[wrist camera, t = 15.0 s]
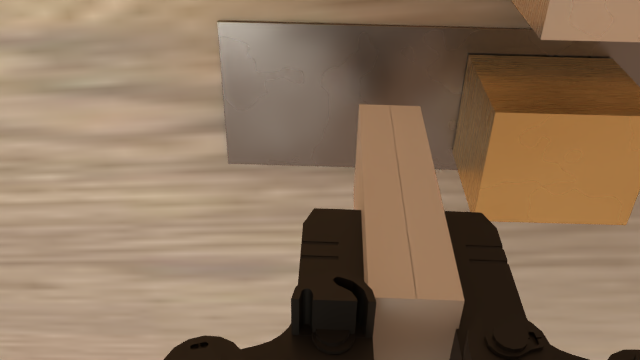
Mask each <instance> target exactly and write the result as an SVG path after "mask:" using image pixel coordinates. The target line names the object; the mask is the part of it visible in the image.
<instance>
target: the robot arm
mask: <svg viewBox="0 0 640 360" xmlns="http://www.w3.org/2000/svg"><path fill="white" fill-rule="evenodd" d="M164 360H588V359H585V358H582V357H578V356H575V355H572V354H569V353H566V352H564V351H561V350H559V349H557V348H555V347H554V346H552V345H550V344H549V342H548V340H547V339H546V337H545V336H544V334H543V332H542V331H541V330H539V329H538V328H537V327H536V326H535V325H534V324H532V323H531V322H530V321H528V320H527V318H526V315H525V312H524V309H523V306H522V303H521V300H520V297H519V294H518V291H517V288H516V285H515V282H514V279H513V276H512V273H511V270H510V267H509V264H507V258H506V255H505V252H504V250H503V249H502V243H501V240H500V237H499V234H498V231H497V228H496V227H495V226H494V225H493V224H492V223H491V222H490V221H489V220H488V219H487V218H486V217H485V216H484V215H483V214H482V213H481V212H451V211H444V208H443V204H442V199H441V195H440V191H439V186H438V182H437V177H436V173H435V169H434V164H433V160H432V156H431V151H430V147H429V142H428V138H427V134H426V129H425V125H424V120H423V116H422V112H421V107H420V106H399V105H367V104H359V116H358V132H357V148H356V164H355V180H354V210H345V209H315V208H314V210H313V211H312V212H311V214H310V215H309V216H308V218H307V219H306V220H305V222H304V223H303V232H302V244H301V257H300V268H299V279H298V286H296V287H295V290H294V293H293V296H292V298H291V324H290V326H289V328H288V329H287V330H286V331H284V332H283V333H282V334H281V335H280V336H278V337H277V338H275V339H273V340H272V341H269V342H266V343H263V344H261V345H257V346H253V347H249V348H245V349H239V348H238V347H237V346H236V345H235V344H234V343H233V342H231V341H229V340H227V339H224V338H222V337H216V336H201V337H197V338H192V339H188V340H187V341H185V342H183V343H181V344H180V345H178V346H176V347H174V348H173V350H172V351H171V352H170V353H169V354H168V355H167V356H166V357H165V359H164ZM608 360H640V350H622V351H619V352H617V353H614V354H612V355H611V356H610V357H609V359H608Z"/></svg>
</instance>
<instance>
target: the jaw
mask: <svg viewBox="0 0 640 360" xmlns="http://www.w3.org/2000/svg"><path fill="white" fill-rule="evenodd" d="M511 1H512V2H513V4H514V5H515V6H516V8H517V9H518V10H519V12H520V13H521V14H522V16H523V17H524V18H525V20H526V21H527V22H528V24H529V25H530V26H531V28H532V29H533V30H534V32H535V33H536V34H537V36H538V37H539V38H540V40H568V41H609V42H640V0H511Z"/></svg>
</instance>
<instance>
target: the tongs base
mask: <svg viewBox="0 0 640 360" xmlns="http://www.w3.org/2000/svg"><path fill="white" fill-rule="evenodd" d="M217 23H218V36H219V49H220V62H221V74H222V87H223V100H224V113H225V126H226V139H227V152H228V164H262V165H300V166H337V167H355V164H356V148H357V132H358V116H359V104H367V105H399V106H420V107H421V112H422V116H423V120H424V125H425V129H426V134H427V138H428V142H429V147H430V151H431V156H432V160H433V164H434V169H450V170H458V169H457V166H456V163H455V159H454V156H453V153H452V152H453V146H454V140H455V134H456V128H457V122H458V116H459V110H460V104H461V98H462V92H463V86H464V80H465V74H466V68H467V62H468V56H469V55H495V56H534V57H573V58H611V59H613V60H614V61H615V62H616V63H617V64H618V65H619V66H620V67H621V68H622V69H623V70H624V71H625V72H626V73H627V74H628V75H629V76H630V77H631V79H632V80H633V81H634V82H635V83H636V84H637V85H638V86H639V87H640V42H609V41H568V40H540V38H539V37H538V36H537V34H536V33H535V32H534V30H533V29H508V28H469V27H430V26H390V25H351V24H312V23H273V22H234V21H218V22H217Z"/></svg>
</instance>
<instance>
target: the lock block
mask: <svg viewBox="0 0 640 360" xmlns="http://www.w3.org/2000/svg"><path fill="white" fill-rule="evenodd" d="M452 153H453V156H454V159H455V163H456V166H457V169H458V173H459V176H460V179H461V182H462V186H463V189H464V192H465V196H466V199H467V202H468V205H469V209H470V212H481V213H482V214H483V215H484V216H485V217H486V218H487V219H488V220H489V221H497V222H534V223H571V224H608V225H626V224H627V221H628V219H629V216H630V214H631V211H632V208H633V206H634V203H635V201H636V198H637V196H638V193H639V190H640V87H639V86H638V85H637V84H636V83H635V82H634V81H633V80H632V79H631V77H630V76H629V75H628V74H627V73H626V72H625V71H624V70H623V69H622V68H621V67H620V66H619V65H618V64H617V63H616V62H615V61H614V60H613V59H611V58H573V57H534V56H495V55H469V56H468V62H467V68H466V74H465V80H464V86H463V92H462V98H461V104H460V110H459V116H458V122H457V128H456V134H455V140H454V146H453V152H452Z"/></svg>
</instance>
